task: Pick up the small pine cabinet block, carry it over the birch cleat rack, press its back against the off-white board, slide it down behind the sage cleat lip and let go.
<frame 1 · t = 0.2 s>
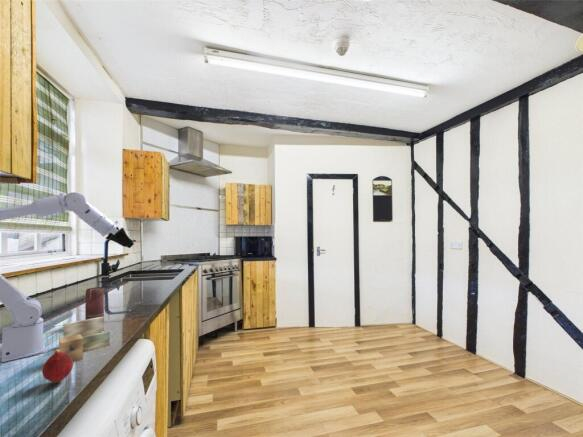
hand: (129, 245, 108), 31 cm above the countertop, tool tilted 45°, fingers open, 7 cm apart
cleat rack: (86, 345, 94), on the countertop
onion: (57, 383, 71), on the countertop
can: (94, 324, 116), on the countertop
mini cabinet: (70, 359, 84), on the countertop
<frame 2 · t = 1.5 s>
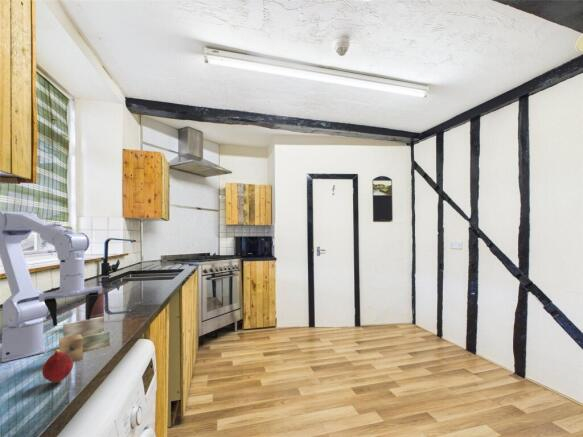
hand: (72, 322, 85), 11 cm above the countertop, tool pointing down, fingers open, 7 cm apart
nothing on the countertop moved.
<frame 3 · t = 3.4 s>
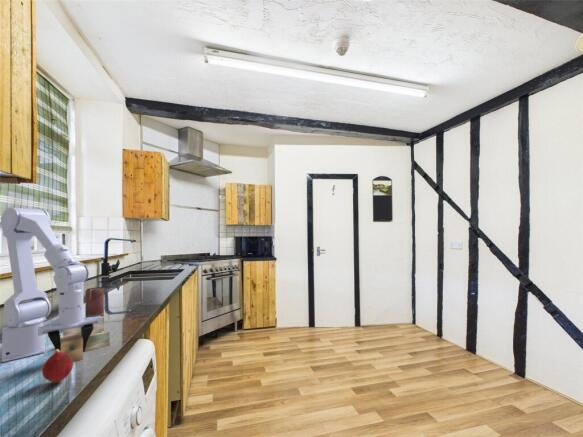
hand: (70, 354, 84), 1 cm above the countertop, tool pointing down, fingers closed on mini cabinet, 5 cm apart
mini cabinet: (70, 359, 84), on the countertop, touching gripper
everything else where it was.
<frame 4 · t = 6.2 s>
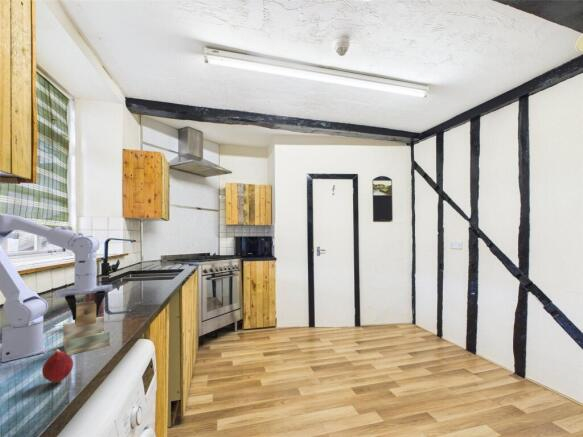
hand: (85, 317, 93), 9 cm above the countertop, tool pointing down, fingers closed on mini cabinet, 5 cm apart
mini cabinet: (85, 322, 93), point 8 cm above the countertop, touching gripper
everything else where it was.
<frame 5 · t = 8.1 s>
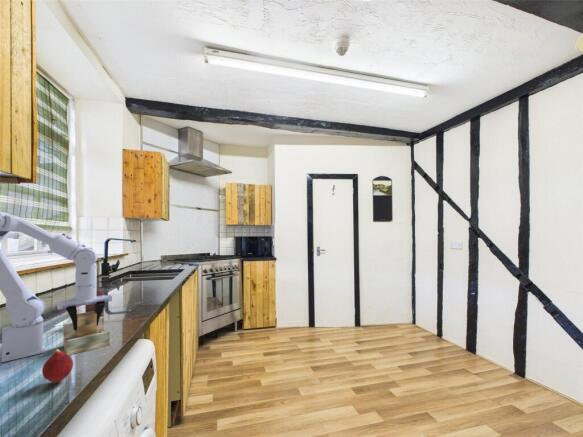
hand: (85, 327, 96), 5 cm above the countertop, tool pointing down, fingers closed on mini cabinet, 5 cm apart
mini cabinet: (86, 332, 95), point 4 cm above the countertop, touching gripper
everything else where it was.
when the fingers open (3 cm above the countertop, at t = 9.4 s): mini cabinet stays where it is, resting on cleat rack.
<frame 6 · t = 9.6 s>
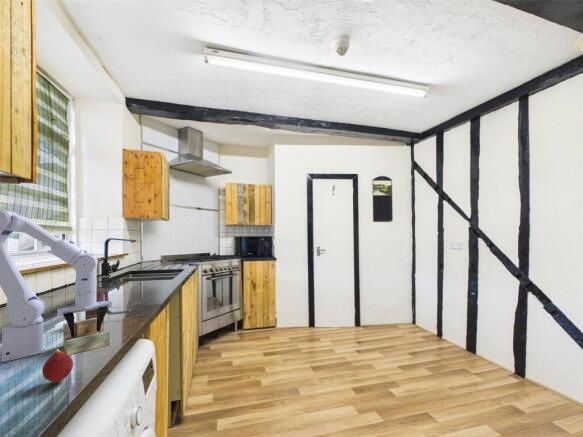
hand: (85, 333, 95), 3 cm above the countertop, tool pointing down, fingers open, 6 cm apart
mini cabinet: (85, 341, 95), point 1 cm above the countertop, touching cleat rack
everything else where it was.
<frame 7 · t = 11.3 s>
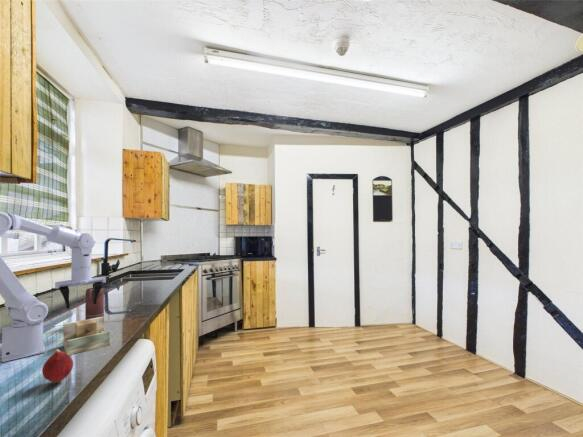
hand: (81, 305, 103), 10 cm above the countertop, tool pointing down, fingers open, 7 cm apart
nothing on the countertop moved.
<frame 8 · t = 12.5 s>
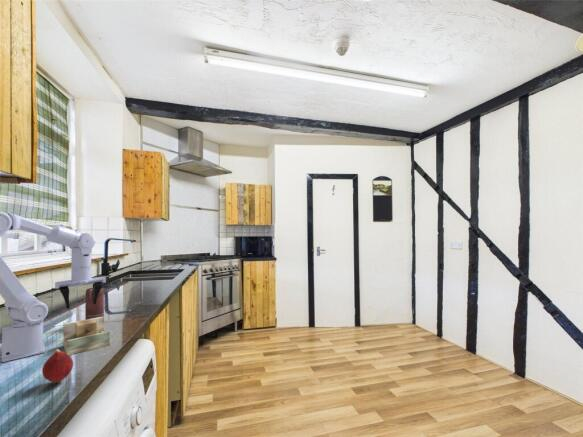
hand: (81, 305, 103), 10 cm above the countertop, tool pointing down, fingers open, 7 cm apart
nothing on the countertop moved.
at the end: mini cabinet inside the target area (1.2 cm from its centre), point 1.0 cm above the countertop; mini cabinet tilted 0°; the gripper is holding nothing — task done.
